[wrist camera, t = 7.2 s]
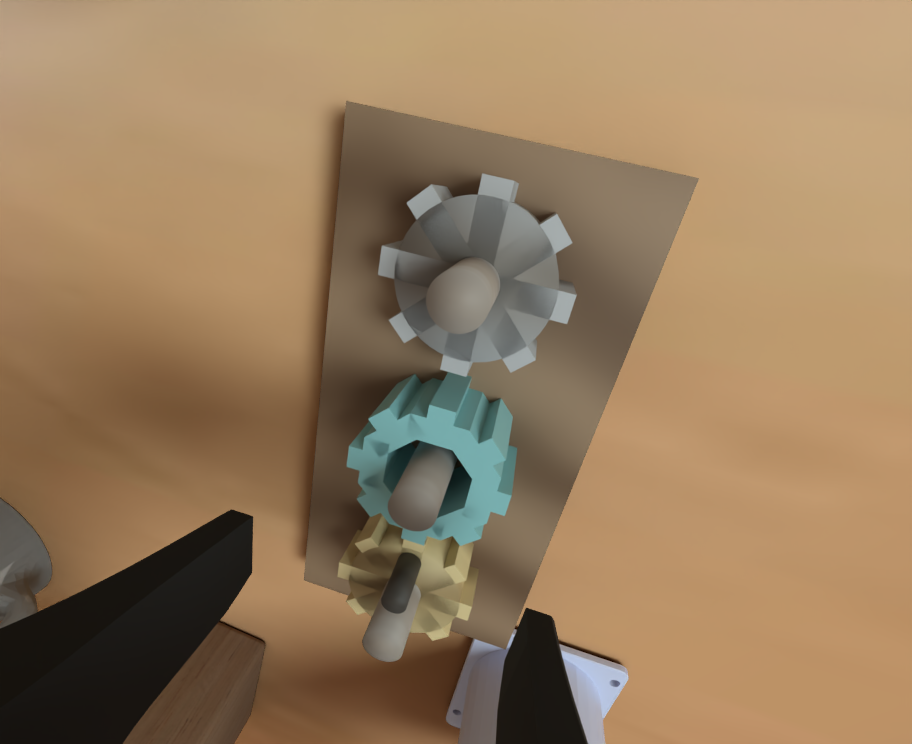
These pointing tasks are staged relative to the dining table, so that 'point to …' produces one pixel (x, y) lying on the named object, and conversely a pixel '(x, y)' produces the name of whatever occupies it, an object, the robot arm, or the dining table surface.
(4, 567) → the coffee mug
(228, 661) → the wooden block
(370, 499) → the teal gear
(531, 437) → the gear board
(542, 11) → the dining table surface
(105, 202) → the dining table surface
